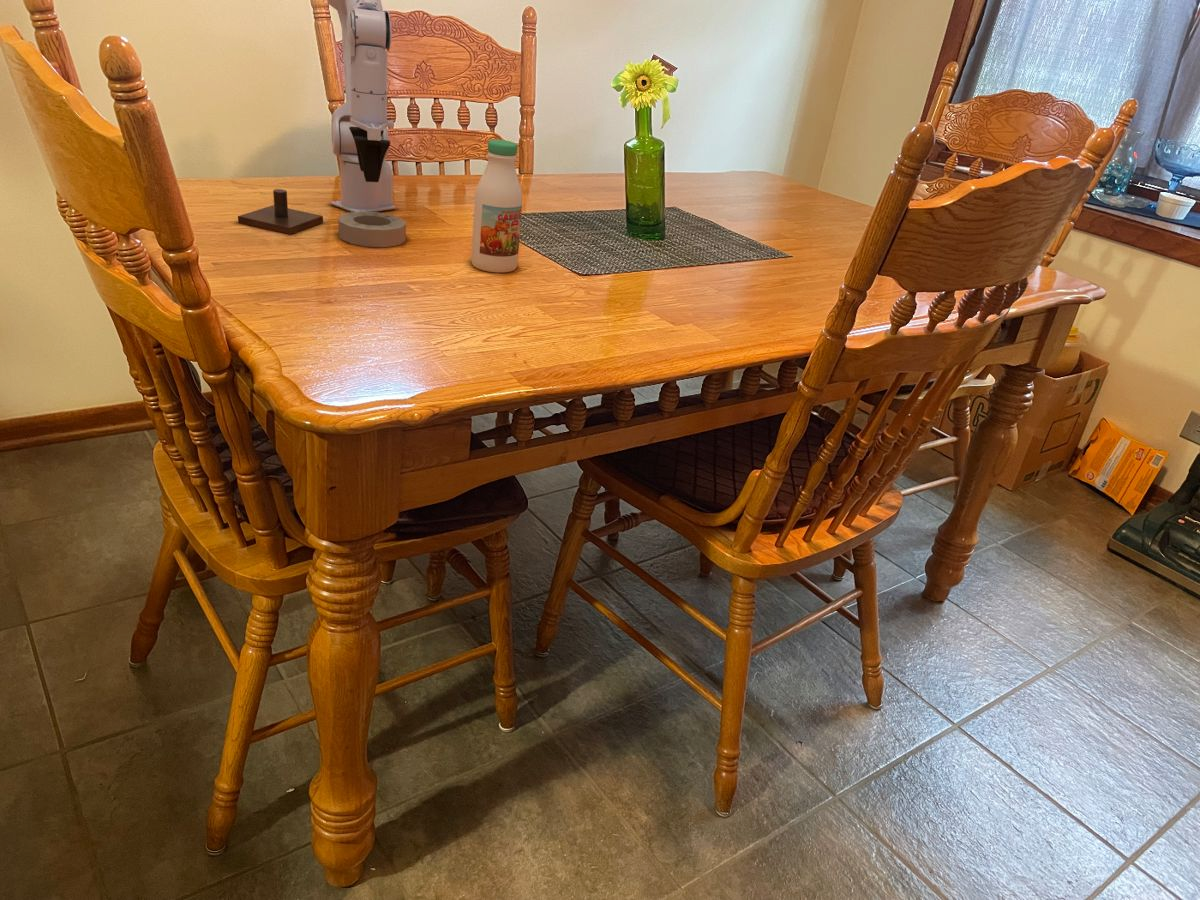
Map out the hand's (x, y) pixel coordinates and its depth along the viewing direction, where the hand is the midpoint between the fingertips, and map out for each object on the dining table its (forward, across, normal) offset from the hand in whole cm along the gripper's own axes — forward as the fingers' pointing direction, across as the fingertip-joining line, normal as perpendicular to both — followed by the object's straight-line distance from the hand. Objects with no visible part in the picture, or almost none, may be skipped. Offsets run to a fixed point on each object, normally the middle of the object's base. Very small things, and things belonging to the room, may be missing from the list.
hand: (369, 176), depth 142 cm
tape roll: (+9, -4, 0) cm, 10 cm away
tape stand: (+9, +3, +14) cm, 17 cm away
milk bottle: (+10, -18, -18) cm, 28 cm away
